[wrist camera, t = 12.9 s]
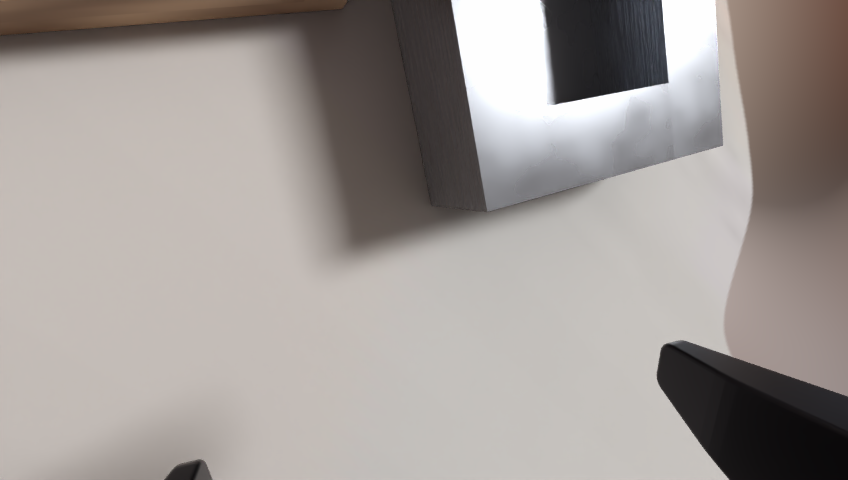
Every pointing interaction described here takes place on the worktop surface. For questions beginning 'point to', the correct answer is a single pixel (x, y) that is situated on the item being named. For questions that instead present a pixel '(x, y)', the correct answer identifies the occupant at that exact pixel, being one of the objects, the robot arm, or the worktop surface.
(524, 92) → the chuck socket
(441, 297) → the worktop surface
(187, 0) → the walnut tray
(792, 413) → the robot arm
